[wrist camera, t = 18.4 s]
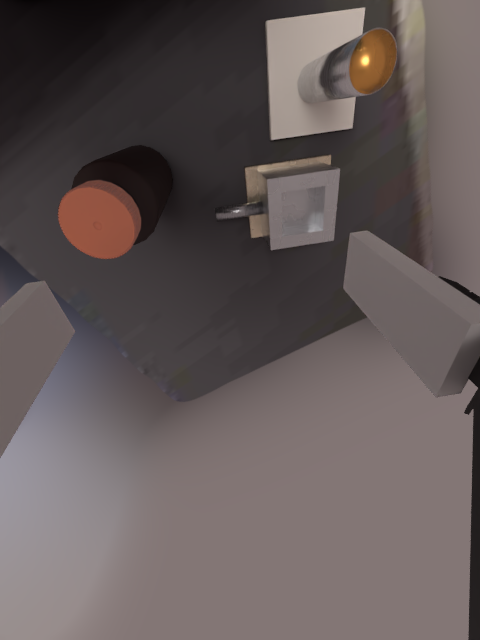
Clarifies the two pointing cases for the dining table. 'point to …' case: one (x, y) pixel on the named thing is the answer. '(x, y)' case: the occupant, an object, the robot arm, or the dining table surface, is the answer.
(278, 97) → the pad
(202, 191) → the dining table surface
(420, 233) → the dining table surface
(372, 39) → the metal cylinder
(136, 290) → the dining table surface
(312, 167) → the grey box
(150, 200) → the bottle
